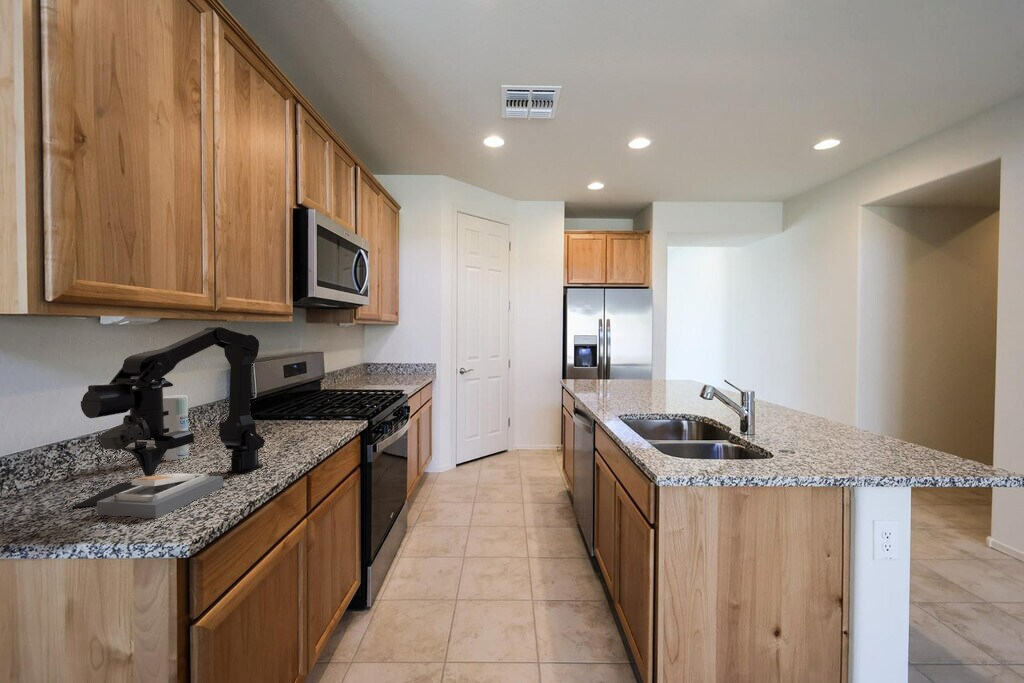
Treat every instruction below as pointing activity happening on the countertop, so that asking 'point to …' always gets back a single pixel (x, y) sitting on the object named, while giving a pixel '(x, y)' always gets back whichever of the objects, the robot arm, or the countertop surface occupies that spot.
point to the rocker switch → (162, 479)
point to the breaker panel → (158, 497)
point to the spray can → (176, 423)
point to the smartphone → (105, 495)
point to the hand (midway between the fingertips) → (149, 475)
